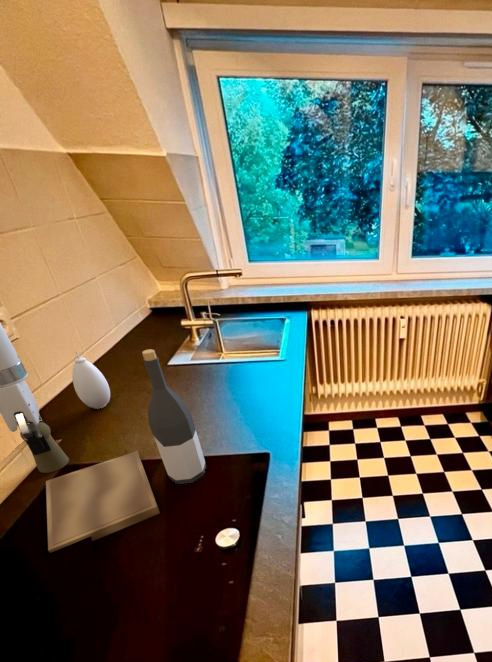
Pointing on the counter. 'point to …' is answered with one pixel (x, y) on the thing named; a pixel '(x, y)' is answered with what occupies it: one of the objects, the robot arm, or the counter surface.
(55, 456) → the pepper mill
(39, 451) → the robot arm
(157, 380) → the wine bottle
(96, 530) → the cutting board
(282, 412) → the counter surface
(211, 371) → the counter surface
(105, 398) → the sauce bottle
